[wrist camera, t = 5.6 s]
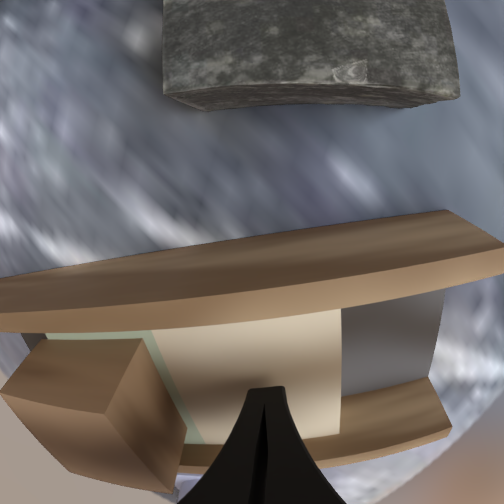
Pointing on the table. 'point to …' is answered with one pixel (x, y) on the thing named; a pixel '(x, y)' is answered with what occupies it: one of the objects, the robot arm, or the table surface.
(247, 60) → the stone block
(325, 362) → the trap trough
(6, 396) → the walnut block
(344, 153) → the table surface
